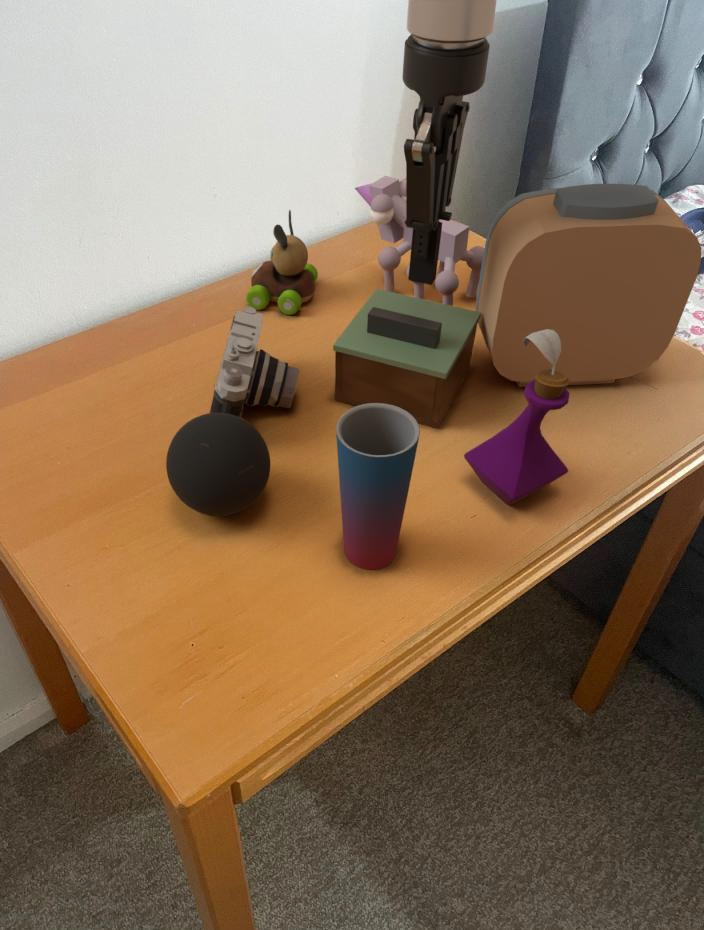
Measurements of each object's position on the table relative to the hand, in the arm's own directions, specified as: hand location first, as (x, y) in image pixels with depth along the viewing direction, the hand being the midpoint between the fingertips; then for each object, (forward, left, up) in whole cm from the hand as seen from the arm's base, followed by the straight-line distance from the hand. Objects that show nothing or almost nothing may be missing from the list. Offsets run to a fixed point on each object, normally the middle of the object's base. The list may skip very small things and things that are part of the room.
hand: (421, 279), depth 84 cm
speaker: (+10, +29, -12) cm, 33 cm away
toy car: (+22, -9, -12) cm, 26 cm away
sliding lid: (0, +3, -5) cm, 6 cm away
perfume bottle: (-16, +15, -12) cm, 25 cm away
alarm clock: (-16, -8, -12) cm, 21 cm away
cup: (-6, +29, -12) cm, 32 cm away
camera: (+14, +14, -12) cm, 23 cm away
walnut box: (0, +3, -12) cm, 12 cm away
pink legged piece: (+7, -18, -12) cm, 22 cm away
